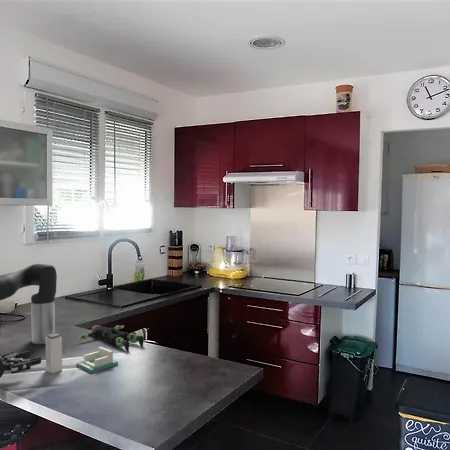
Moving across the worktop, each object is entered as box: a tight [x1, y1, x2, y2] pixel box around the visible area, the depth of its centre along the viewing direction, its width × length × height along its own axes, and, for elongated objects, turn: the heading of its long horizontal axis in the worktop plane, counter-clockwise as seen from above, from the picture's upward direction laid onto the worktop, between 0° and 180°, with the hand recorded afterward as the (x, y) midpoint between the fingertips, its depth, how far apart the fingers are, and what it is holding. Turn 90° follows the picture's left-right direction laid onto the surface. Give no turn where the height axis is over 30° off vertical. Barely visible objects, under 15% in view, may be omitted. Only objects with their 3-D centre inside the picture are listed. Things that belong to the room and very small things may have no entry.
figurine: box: [74, 324, 145, 352], centre depth 192 cm, size 26×6×30 cm
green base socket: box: [75, 346, 119, 374], centre depth 163 cm, size 10×11×5 cm
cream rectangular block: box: [45, 332, 63, 374], centre depth 158 cm, size 4×5×13 cm
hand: (35, 356), depth 152 cm, fingers open, 8 cm apart
